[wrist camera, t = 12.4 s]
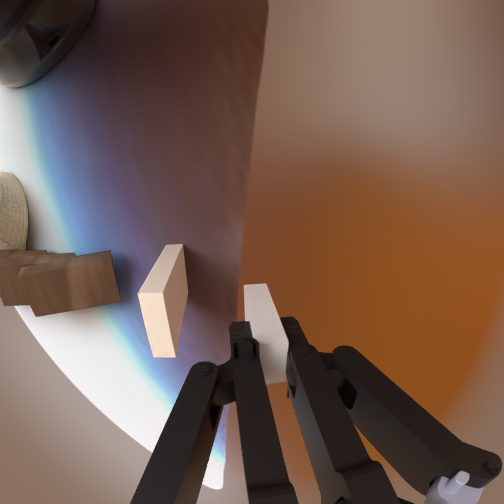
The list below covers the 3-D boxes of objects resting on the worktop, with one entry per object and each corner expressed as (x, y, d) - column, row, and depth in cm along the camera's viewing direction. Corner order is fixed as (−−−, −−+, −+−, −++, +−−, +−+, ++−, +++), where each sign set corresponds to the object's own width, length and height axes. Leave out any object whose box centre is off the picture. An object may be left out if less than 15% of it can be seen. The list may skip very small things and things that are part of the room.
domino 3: (119, 291, 26) (37, 306, 21) (110, 250, 23) (21, 267, 19) (120, 301, 24) (35, 316, 20) (110, 258, 22) (17, 277, 18)
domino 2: (81, 292, 25) (7, 296, 20) (74, 252, 23) (-5, 258, 18) (80, 301, 24) (4, 305, 19) (73, 261, 22) (-10, 266, 17)
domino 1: (51, 288, 24) (-15, 286, 19) (46, 250, 22) (-24, 249, 17) (50, 297, 23) (-19, 295, 18) (43, 258, 21) (-29, 257, 16)
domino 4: (172, 292, 26) (153, 357, 17) (166, 245, 25) (137, 293, 15) (188, 292, 26) (175, 357, 17) (182, 243, 25) (162, 292, 15)
